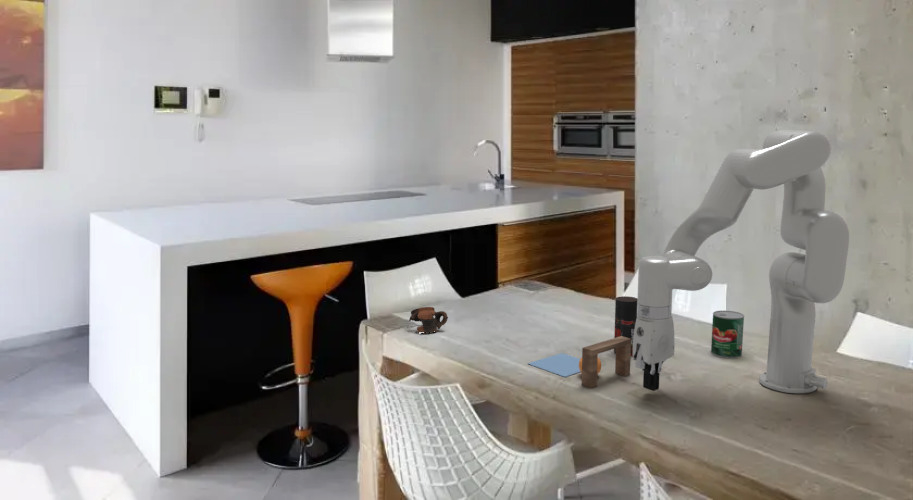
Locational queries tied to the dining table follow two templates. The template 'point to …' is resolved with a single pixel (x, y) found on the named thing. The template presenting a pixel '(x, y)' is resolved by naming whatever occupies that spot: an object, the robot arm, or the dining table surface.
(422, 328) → the pottery mug
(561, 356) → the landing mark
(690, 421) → the dining table surface
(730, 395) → the dining table surface
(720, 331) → the canned tomato
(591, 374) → the bridge
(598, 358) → the ball
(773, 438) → the dining table surface
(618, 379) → the dining table surface
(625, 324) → the deodorant
